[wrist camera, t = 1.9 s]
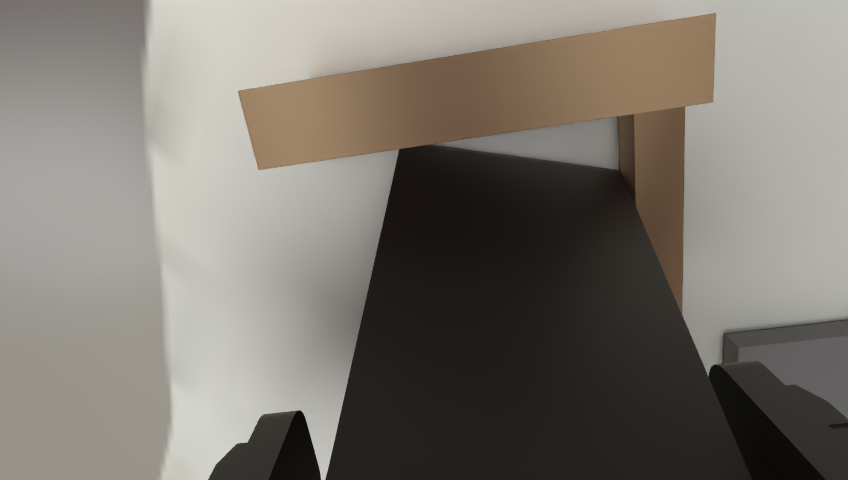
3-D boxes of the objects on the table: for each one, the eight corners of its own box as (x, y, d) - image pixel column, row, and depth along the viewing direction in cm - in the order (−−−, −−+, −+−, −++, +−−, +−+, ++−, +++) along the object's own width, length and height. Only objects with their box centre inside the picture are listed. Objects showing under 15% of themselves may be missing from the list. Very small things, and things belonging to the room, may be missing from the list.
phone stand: (402, 137, 14) (245, 462, 3) (617, 168, 14) (1319, 604, 3) (369, 407, 17) (230, 1093, 6) (547, 431, 17) (753, 1152, 6)
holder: (664, 21, 13) (793, 0, 8) (664, 473, 18) (745, 625, 13) (308, 79, 14) (237, 90, 9) (399, 498, 18) (384, 650, 14)
